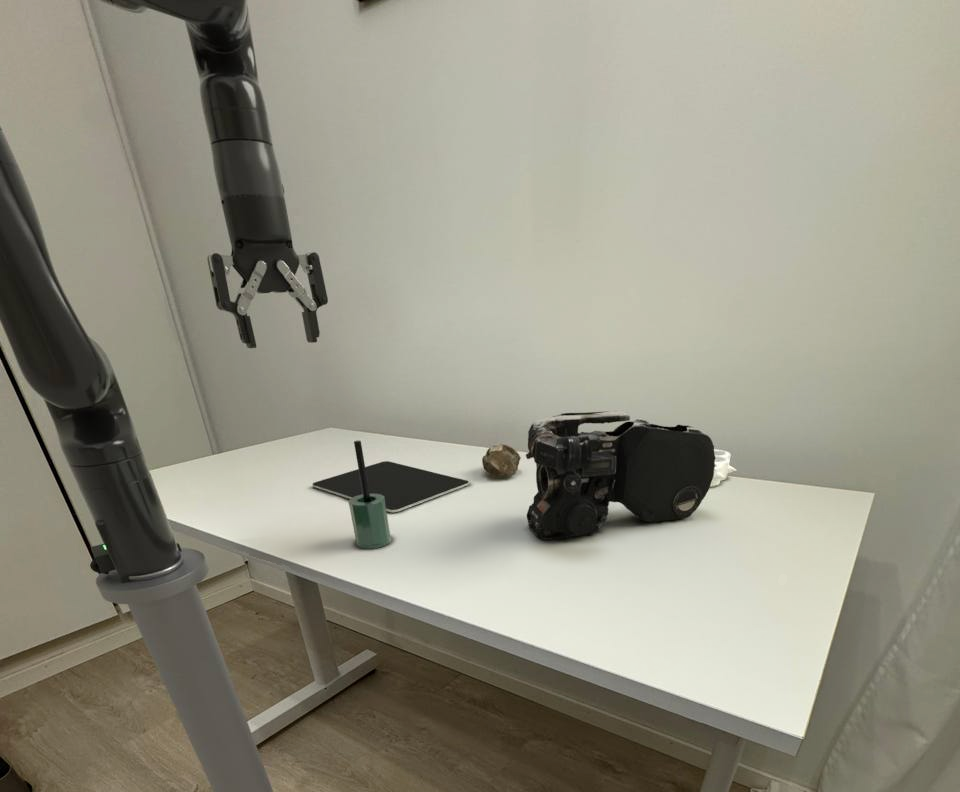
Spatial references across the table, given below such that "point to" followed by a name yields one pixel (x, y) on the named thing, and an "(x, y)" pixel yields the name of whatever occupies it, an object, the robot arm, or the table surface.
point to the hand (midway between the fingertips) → (282, 345)
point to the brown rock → (501, 461)
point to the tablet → (393, 484)
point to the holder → (370, 521)
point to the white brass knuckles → (721, 466)
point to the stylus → (362, 471)
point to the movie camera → (614, 472)
